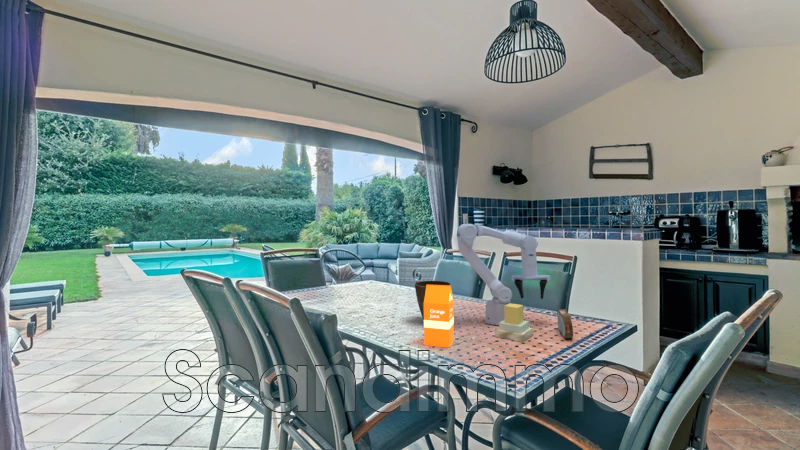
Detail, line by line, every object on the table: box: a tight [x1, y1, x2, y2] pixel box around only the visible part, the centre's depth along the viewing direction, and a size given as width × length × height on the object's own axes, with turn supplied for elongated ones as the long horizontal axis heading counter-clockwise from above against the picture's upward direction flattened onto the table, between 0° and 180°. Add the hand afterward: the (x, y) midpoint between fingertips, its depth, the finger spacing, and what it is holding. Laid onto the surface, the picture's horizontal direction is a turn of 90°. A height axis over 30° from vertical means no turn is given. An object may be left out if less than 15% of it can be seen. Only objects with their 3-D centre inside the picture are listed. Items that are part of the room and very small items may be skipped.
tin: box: [556, 308, 574, 339], centre depth 129 cm, size 15×3×8 cm, turn 166°
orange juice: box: [423, 285, 455, 348], centre depth 123 cm, size 8×9×20 cm
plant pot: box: [414, 280, 451, 321], centre depth 148 cm, size 15×15×16 cm
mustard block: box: [504, 302, 524, 325], centre depth 128 cm, size 5×5×6 cm
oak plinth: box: [494, 326, 534, 343], centre depth 128 cm, size 10×10×2 cm
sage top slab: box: [498, 319, 530, 334], centre depth 128 cm, size 8×8×2 cm
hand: (532, 298), depth 144 cm, fingers open, 7 cm apart
